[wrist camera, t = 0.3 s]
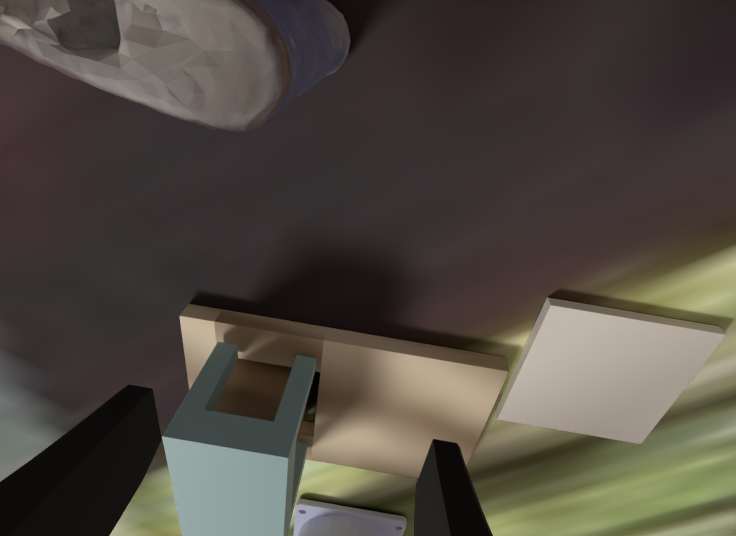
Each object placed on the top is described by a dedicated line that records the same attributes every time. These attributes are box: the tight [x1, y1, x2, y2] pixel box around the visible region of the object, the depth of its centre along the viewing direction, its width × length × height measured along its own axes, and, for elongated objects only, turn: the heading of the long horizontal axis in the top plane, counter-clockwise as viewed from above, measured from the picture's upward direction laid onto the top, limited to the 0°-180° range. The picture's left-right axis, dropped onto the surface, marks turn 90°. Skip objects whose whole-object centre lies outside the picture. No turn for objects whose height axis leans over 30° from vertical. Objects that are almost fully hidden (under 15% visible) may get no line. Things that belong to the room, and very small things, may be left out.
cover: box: [162, 342, 316, 536], centre depth 21 cm, size 8×5×6 cm, turn 172°
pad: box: [496, 297, 727, 444], centre depth 21 cm, size 8×8×1 cm
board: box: [180, 304, 509, 478], centre depth 24 cm, size 10×16×1 cm, turn 82°
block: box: [212, 358, 306, 445], centre depth 22 cm, size 4×4×5 cm
